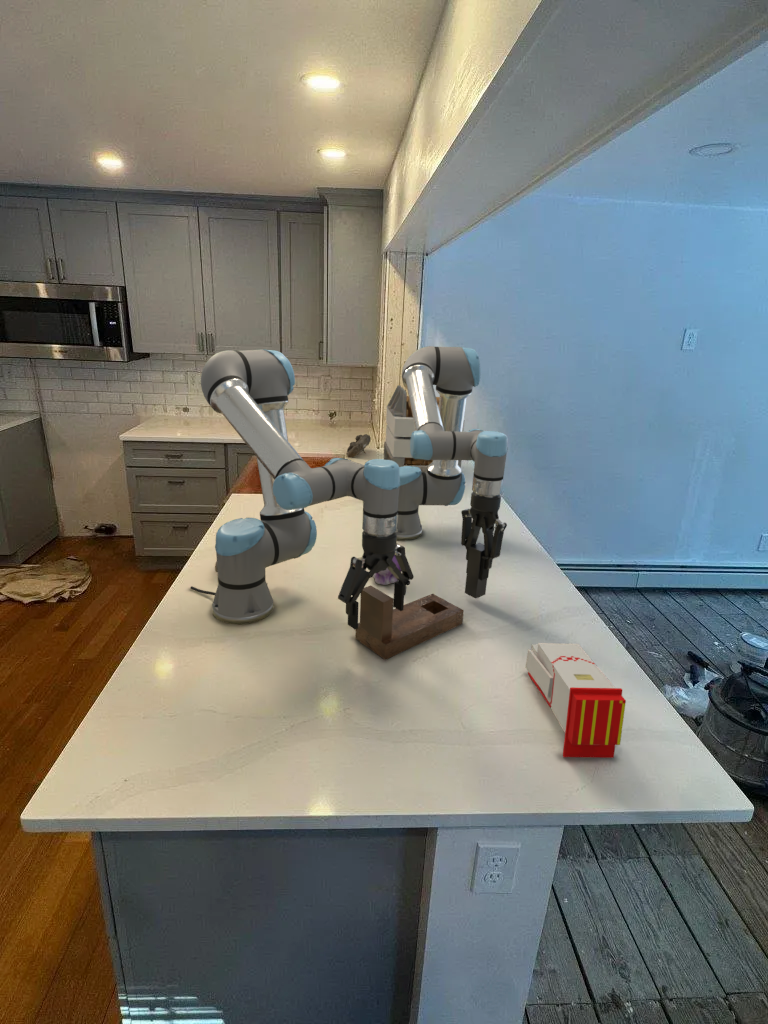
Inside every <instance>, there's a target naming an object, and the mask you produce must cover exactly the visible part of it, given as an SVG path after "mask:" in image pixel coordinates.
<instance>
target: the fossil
mask: <svg viewBox="0 0 768 1024" xmlns="http://www.w3.org/2000/svg"><path fill="white" fill-rule="evenodd" d="M354 440H355V441H351V442H350V443H349V446H348V447H347V450H346V456H347V457H348V458H352V457H355V456H357V455H359V454H360V453H361V452H363V453H364V454H366V452H365V449H366V448H367V446H369V445H370V443H371V440H372V439H371V436H370V434H367V433H365V434H358V435H356V436H355V438H354Z"/></svg>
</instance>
